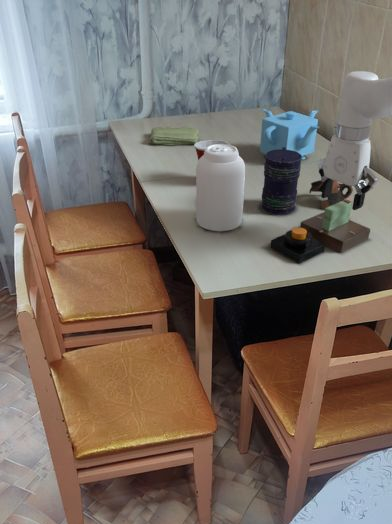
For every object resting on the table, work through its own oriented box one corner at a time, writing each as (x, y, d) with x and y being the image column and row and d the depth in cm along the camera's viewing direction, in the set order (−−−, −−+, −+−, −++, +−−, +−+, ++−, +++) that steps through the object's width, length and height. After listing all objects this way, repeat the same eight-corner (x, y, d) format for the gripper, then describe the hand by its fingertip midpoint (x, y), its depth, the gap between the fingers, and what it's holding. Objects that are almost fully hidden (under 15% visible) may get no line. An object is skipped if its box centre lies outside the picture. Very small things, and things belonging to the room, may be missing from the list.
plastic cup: (220, 173, 175) (221, 135, 167) (233, 186, 167) (235, 147, 159) (188, 178, 172) (188, 139, 164) (200, 191, 164) (201, 151, 156)
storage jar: (262, 199, 160) (267, 136, 148) (295, 201, 158) (303, 138, 147) (259, 214, 152) (265, 149, 141) (294, 216, 151) (303, 151, 139)
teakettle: (259, 166, 180) (263, 120, 170) (259, 146, 194) (262, 102, 184) (316, 168, 178) (323, 122, 169) (312, 148, 193) (319, 104, 183)
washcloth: (198, 146, 194) (198, 136, 192) (149, 145, 194) (149, 136, 192) (198, 133, 204) (198, 125, 202) (151, 133, 204) (151, 124, 202)
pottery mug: (311, 211, 154) (307, 182, 153) (312, 212, 163) (308, 184, 162) (355, 203, 151) (351, 173, 150) (353, 204, 160) (349, 176, 159)
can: (194, 231, 144) (195, 156, 131) (197, 211, 153) (197, 139, 141) (242, 233, 143) (246, 158, 130) (241, 212, 153) (246, 140, 140)
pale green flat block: (328, 231, 138) (332, 210, 134) (321, 228, 139) (325, 207, 135) (348, 222, 142) (352, 201, 138) (341, 219, 143) (345, 198, 139)
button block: (323, 251, 136) (326, 237, 133) (299, 263, 131) (301, 249, 129) (294, 237, 142) (296, 223, 139) (270, 247, 137) (271, 233, 135)
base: (369, 238, 141) (372, 227, 139) (339, 253, 135) (341, 242, 133) (327, 219, 149) (329, 209, 147) (297, 233, 143) (299, 222, 141)
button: (308, 237, 134) (309, 231, 133) (299, 242, 132) (300, 235, 131) (298, 232, 136) (298, 225, 135) (288, 236, 134) (289, 230, 133)
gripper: (313, 126, 129) (305, 196, 139) (374, 144, 118) (360, 217, 129) (333, 120, 132) (324, 188, 143) (394, 137, 122) (379, 209, 132)
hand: (341, 202), depth 136 cm, fingers open, 9 cm apart
